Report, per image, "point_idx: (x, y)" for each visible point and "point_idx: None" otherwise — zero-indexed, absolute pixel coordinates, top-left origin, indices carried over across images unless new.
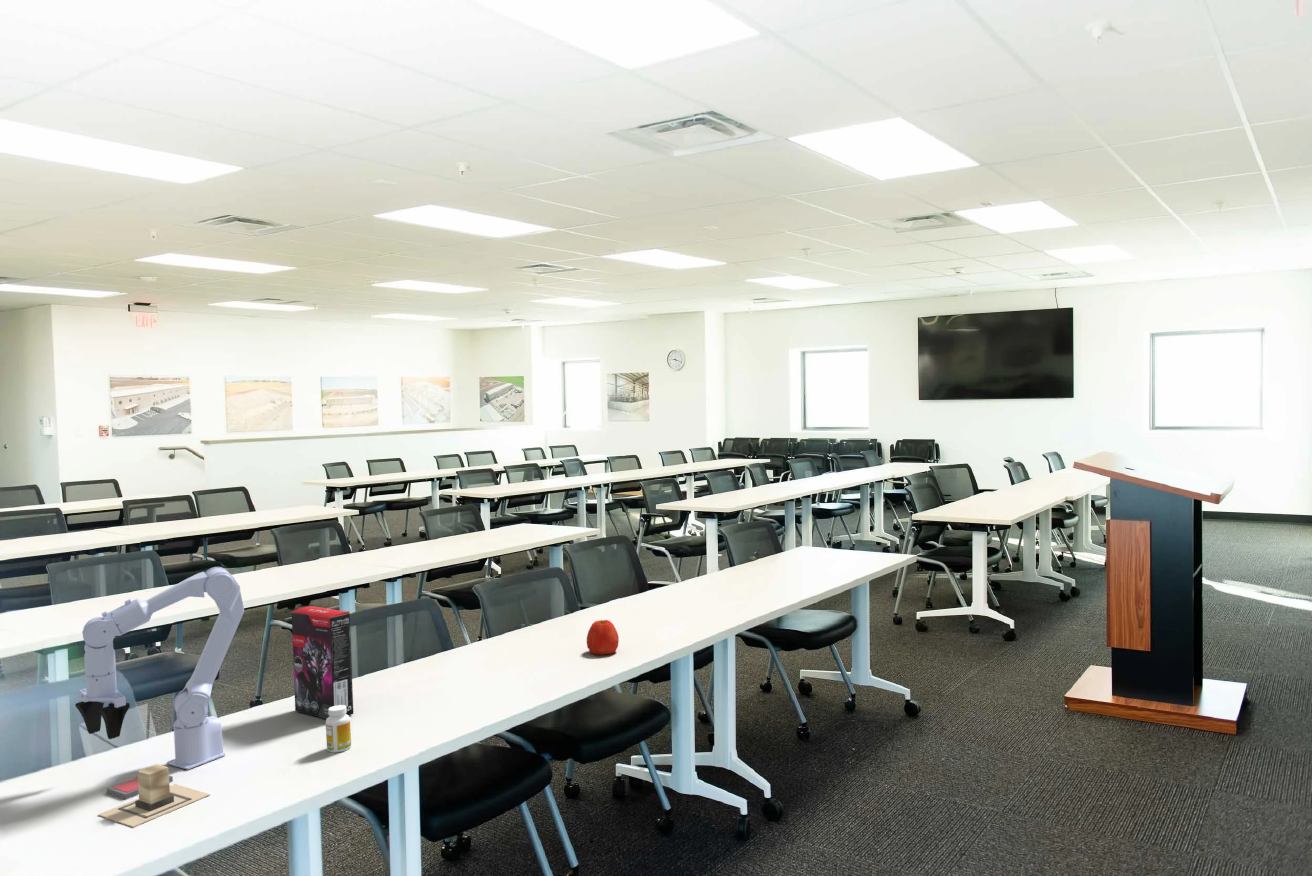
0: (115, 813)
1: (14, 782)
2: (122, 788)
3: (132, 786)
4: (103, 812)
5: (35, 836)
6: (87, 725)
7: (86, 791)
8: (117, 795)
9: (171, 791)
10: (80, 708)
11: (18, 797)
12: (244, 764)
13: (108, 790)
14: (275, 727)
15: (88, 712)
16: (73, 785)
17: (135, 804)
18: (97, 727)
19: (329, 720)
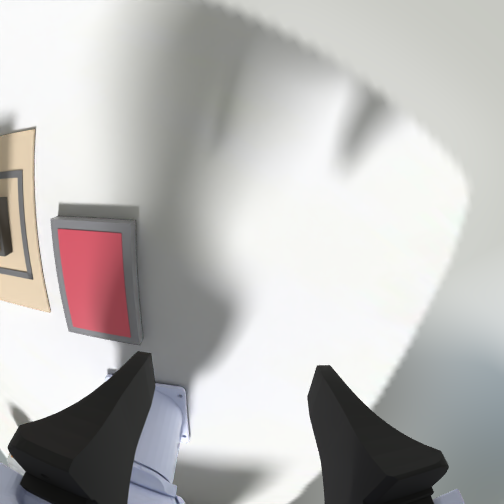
0: (10, 154)
1: (466, 183)
2: (89, 239)
3: (80, 258)
4: (32, 141)
5: (73, 7)
6: (332, 390)
7: (208, 203)
8: (89, 218)
9: (21, 281)
10: (388, 461)
11: (372, 105)
12: (59, 402)
13: (125, 222)
14: (183, 491)
15: (349, 454)
16: (297, 219)
17: (3, 197)
18: (312, 404)
19: (13, 464)
